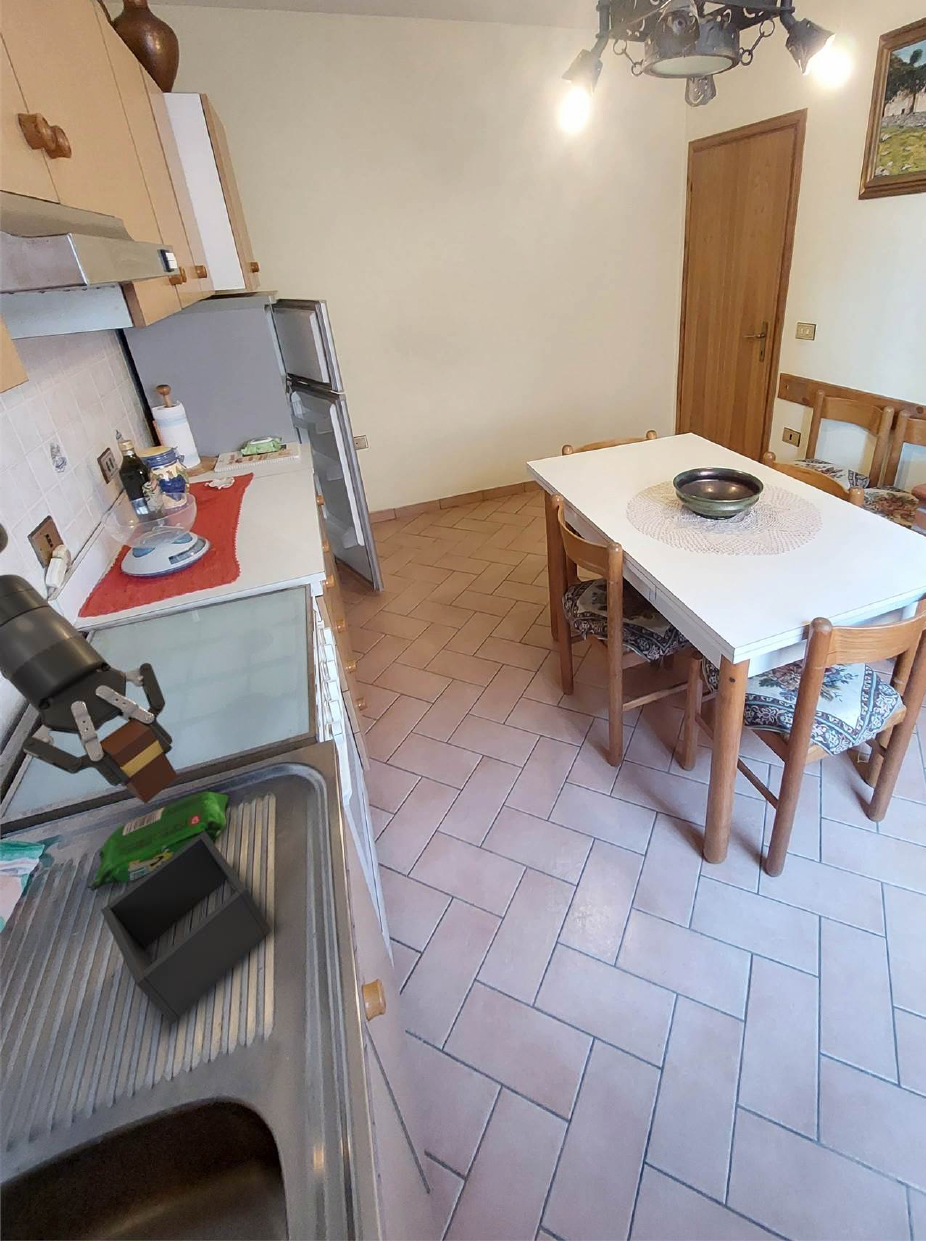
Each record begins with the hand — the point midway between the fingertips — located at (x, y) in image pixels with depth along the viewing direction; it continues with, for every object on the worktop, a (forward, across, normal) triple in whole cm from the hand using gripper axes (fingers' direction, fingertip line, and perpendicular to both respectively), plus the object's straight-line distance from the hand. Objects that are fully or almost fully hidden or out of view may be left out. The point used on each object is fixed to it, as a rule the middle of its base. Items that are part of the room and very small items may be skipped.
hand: (148, 766), depth 66 cm
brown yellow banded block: (+2, 0, +4) cm, 5 cm away
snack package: (+9, -1, +18) cm, 20 cm away
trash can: (+20, -6, +7) cm, 22 cm away
